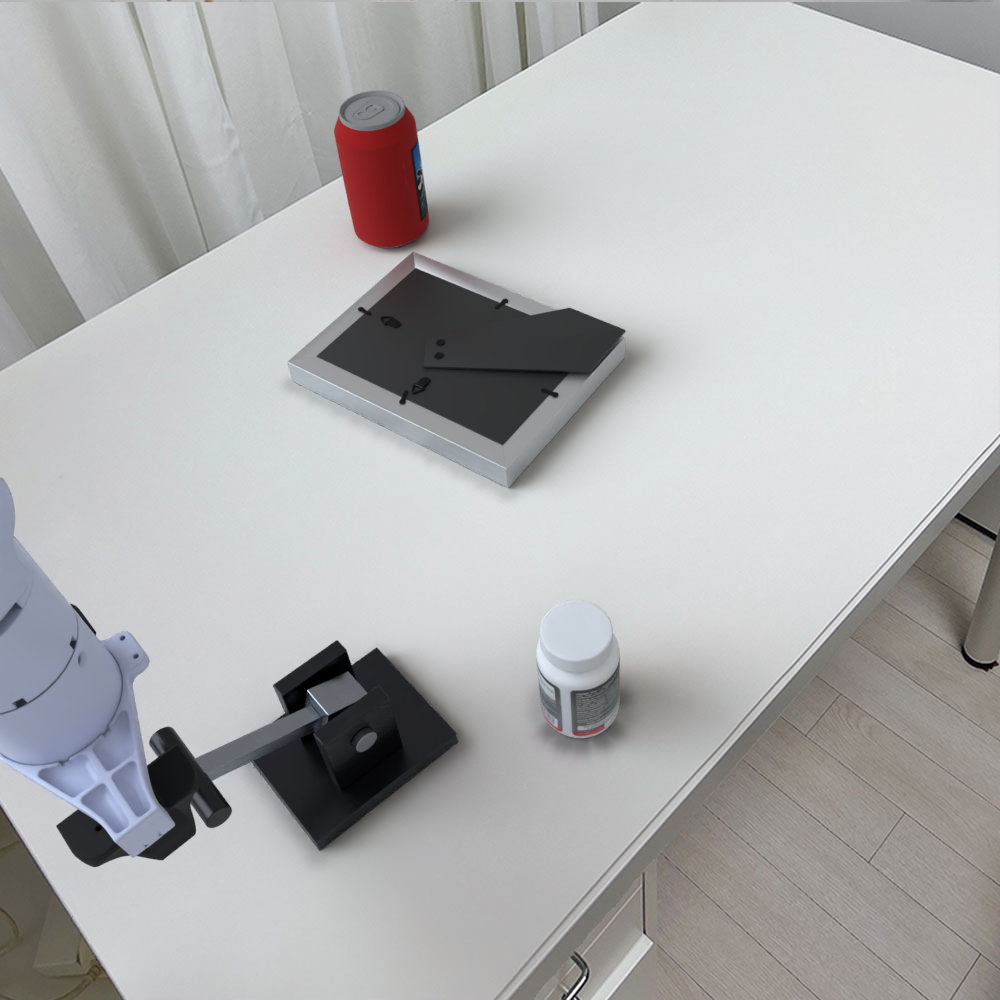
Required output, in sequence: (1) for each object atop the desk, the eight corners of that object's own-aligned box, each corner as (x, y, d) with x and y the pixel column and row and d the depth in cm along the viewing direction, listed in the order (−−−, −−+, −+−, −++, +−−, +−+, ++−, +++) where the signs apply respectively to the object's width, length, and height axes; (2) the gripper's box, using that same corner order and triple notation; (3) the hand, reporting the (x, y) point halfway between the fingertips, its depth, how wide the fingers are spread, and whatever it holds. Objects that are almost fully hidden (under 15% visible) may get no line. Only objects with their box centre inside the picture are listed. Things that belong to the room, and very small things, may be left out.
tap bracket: (319, 851, 62) (293, 799, 57) (245, 754, 66) (214, 697, 61) (458, 742, 65) (446, 683, 60) (379, 657, 70) (361, 595, 64)
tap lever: (205, 838, 55) (207, 809, 54) (148, 757, 58) (148, 727, 57) (384, 746, 62) (390, 718, 60) (324, 677, 65) (329, 649, 64)
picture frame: (625, 357, 86) (416, 271, 94) (625, 329, 83) (411, 244, 92) (508, 488, 78) (292, 381, 86) (505, 462, 76) (284, 354, 84)
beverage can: (446, 227, 98) (430, 103, 89) (390, 264, 95) (368, 140, 86) (394, 199, 101) (374, 77, 92) (339, 234, 98) (312, 112, 89)
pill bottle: (628, 681, 67) (631, 604, 61) (607, 749, 64) (607, 675, 58) (553, 662, 68) (549, 584, 62) (530, 728, 66) (522, 653, 59)
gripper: (187, 709, 40) (285, 838, 51) (19, 484, 47) (136, 638, 58) (13, 839, 38) (154, 944, 49) (-136, 581, 45) (16, 722, 56)
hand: (136, 784), depth 53 cm, fingers open, 7 cm apart
